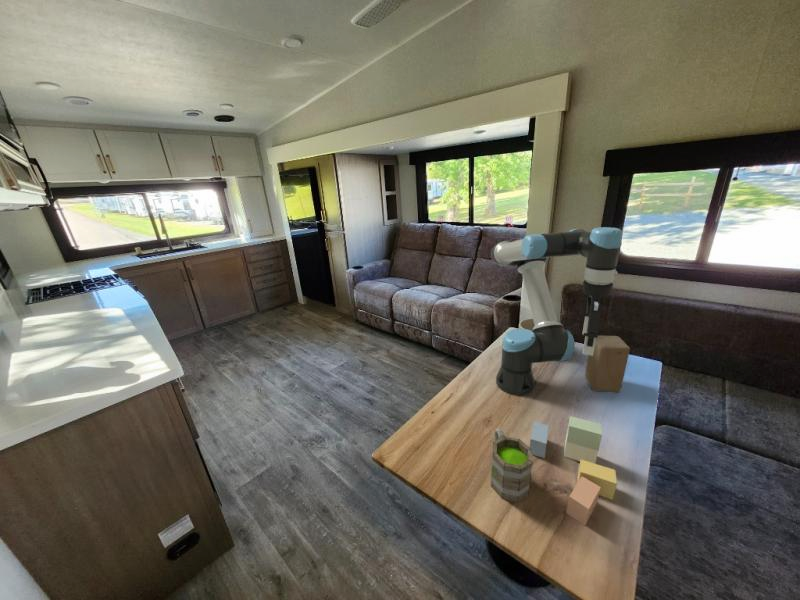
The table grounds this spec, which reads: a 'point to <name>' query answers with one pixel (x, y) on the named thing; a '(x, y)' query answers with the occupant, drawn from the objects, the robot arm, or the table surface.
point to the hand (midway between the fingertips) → (587, 344)
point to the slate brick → (539, 439)
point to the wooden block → (607, 364)
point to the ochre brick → (599, 477)
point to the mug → (511, 467)
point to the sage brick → (584, 433)
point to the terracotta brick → (583, 500)
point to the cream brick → (579, 452)
